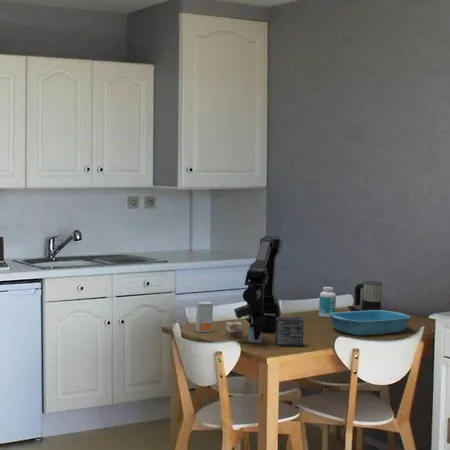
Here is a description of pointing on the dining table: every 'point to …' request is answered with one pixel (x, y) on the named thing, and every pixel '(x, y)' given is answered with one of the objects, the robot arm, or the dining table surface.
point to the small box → (289, 331)
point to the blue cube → (251, 335)
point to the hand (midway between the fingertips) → (254, 338)
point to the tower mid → (234, 327)
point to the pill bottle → (327, 302)
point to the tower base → (233, 335)
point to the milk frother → (368, 296)
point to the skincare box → (204, 317)
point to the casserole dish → (369, 322)
